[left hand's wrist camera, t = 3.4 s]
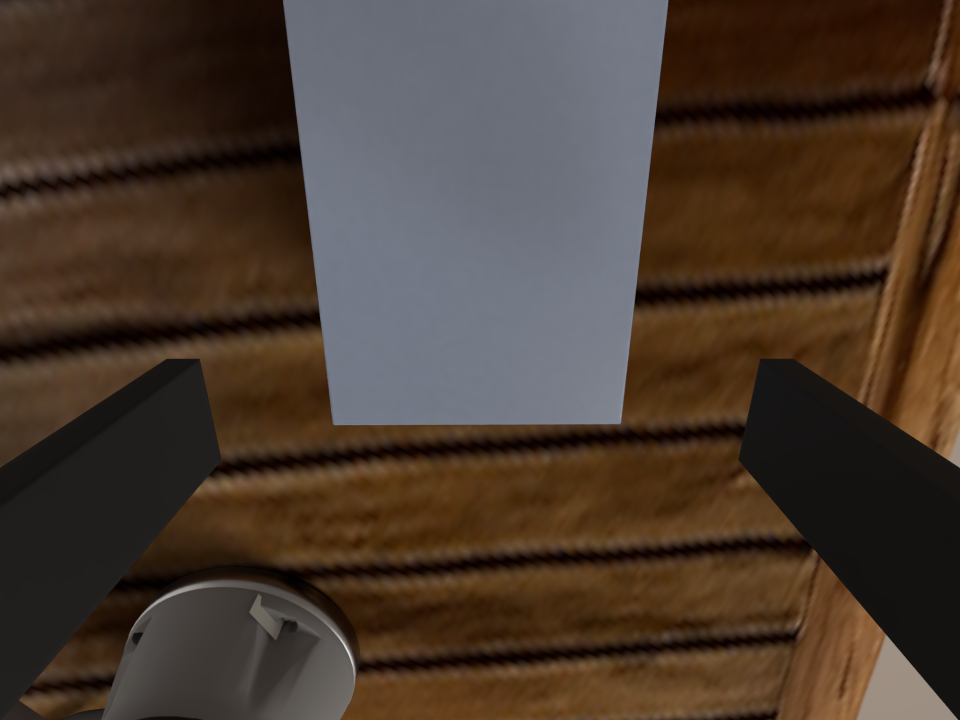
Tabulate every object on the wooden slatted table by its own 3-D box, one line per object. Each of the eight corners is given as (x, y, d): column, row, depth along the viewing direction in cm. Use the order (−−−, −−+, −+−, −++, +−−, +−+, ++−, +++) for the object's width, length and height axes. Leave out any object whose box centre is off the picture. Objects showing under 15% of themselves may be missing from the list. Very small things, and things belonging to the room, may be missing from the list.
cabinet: (349, -105, 21) (243, -323, 12) (601, -104, 21) (705, -321, 12) (381, 333, 28) (332, 425, 18) (571, 333, 28) (621, 424, 19)
